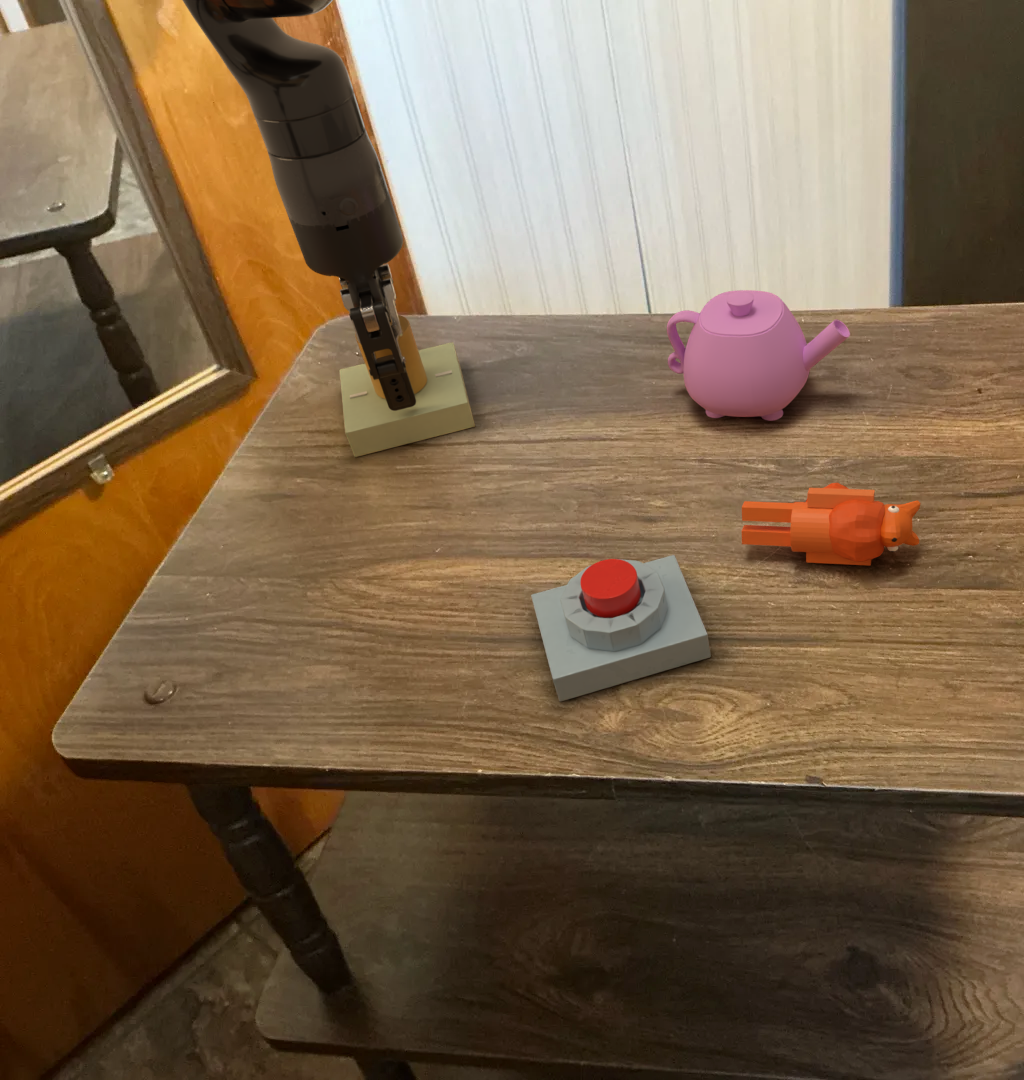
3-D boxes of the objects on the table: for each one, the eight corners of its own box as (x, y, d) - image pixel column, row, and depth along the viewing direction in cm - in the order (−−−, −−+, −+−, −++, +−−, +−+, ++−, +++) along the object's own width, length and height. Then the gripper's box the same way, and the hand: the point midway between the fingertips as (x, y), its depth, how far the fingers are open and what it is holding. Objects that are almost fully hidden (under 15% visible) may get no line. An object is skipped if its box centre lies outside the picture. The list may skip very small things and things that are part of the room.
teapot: (686, 357, 99) (673, 261, 93) (859, 364, 96) (857, 264, 90) (657, 430, 92) (640, 330, 86) (842, 439, 89) (839, 336, 82)
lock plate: (354, 457, 93) (344, 431, 91) (348, 393, 100) (338, 367, 99) (475, 426, 95) (467, 400, 93) (460, 365, 102) (452, 340, 100)
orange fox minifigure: (734, 502, 75) (919, 509, 73) (753, 464, 82) (923, 469, 80) (736, 572, 77) (916, 581, 75) (755, 528, 84) (920, 535, 82)
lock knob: (432, 390, 95) (412, 330, 91) (380, 405, 94) (358, 345, 90) (421, 364, 98) (402, 305, 94) (371, 379, 97) (349, 320, 93)
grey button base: (559, 702, 72) (546, 660, 69) (537, 617, 77) (524, 574, 75) (711, 657, 73) (704, 614, 70) (678, 577, 79) (671, 534, 76)
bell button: (591, 624, 71) (586, 604, 70) (580, 587, 74) (574, 567, 73) (647, 608, 72) (643, 588, 71) (633, 572, 74) (629, 552, 73)
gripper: (284, 171, 89) (349, 347, 100) (286, 250, 79) (359, 437, 90) (380, 151, 90) (434, 327, 101) (395, 226, 80) (453, 414, 91)
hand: (399, 379), depth 96 cm, fingers open, 8 cm apart
